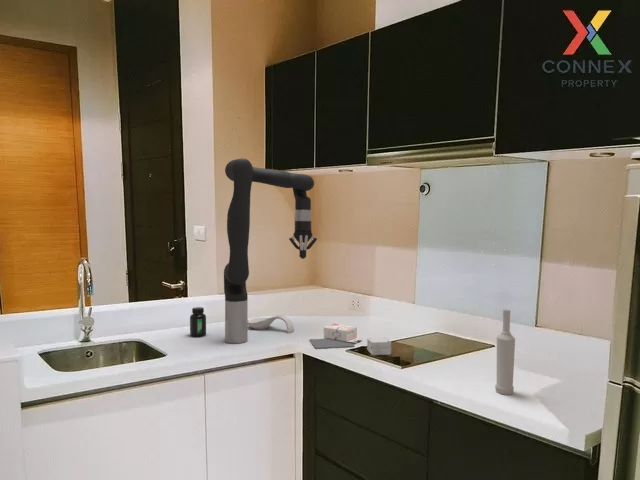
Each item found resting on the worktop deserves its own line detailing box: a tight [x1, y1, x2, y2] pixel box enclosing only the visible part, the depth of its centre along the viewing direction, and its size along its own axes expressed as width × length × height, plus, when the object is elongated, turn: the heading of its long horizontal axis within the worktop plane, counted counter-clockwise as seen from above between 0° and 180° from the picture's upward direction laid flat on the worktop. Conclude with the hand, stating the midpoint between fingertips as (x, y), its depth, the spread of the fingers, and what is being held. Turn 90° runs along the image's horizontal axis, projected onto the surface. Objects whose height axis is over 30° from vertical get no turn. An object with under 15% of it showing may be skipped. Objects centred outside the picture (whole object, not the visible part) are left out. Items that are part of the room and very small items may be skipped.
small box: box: [366, 336, 392, 356], centre depth 188 cm, size 8×8×5 cm
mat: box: [308, 338, 356, 350], centre depth 200 cm, size 16×13×1 cm
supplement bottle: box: [189, 306, 207, 338], centre depth 212 cm, size 7×7×12 cm
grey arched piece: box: [248, 314, 295, 334], centre depth 224 cm, size 24×12×7 cm, turn 62°
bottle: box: [495, 308, 516, 396], centre depth 146 cm, size 5×5×25 cm
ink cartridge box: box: [323, 323, 363, 343], centre depth 206 cm, size 9×5×15 cm
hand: (302, 258), depth 220 cm, fingers closed
